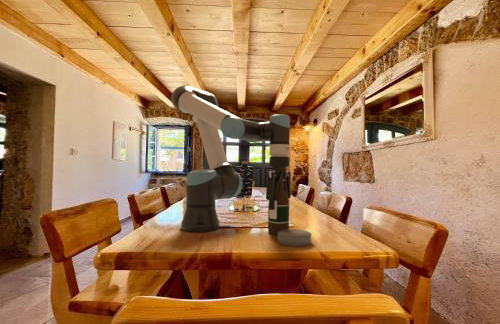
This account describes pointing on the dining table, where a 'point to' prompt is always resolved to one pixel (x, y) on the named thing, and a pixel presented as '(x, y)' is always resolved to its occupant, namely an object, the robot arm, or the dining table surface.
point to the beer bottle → (280, 211)
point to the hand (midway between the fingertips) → (278, 216)
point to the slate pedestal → (294, 237)
